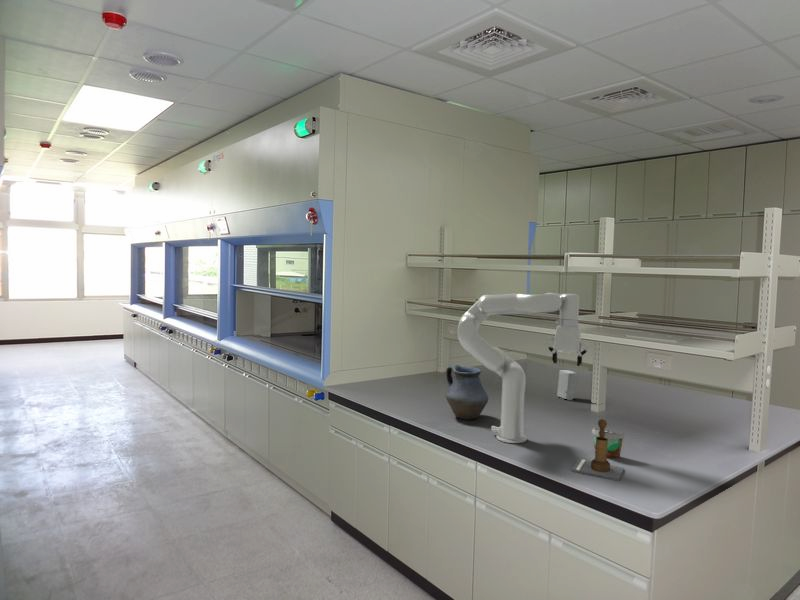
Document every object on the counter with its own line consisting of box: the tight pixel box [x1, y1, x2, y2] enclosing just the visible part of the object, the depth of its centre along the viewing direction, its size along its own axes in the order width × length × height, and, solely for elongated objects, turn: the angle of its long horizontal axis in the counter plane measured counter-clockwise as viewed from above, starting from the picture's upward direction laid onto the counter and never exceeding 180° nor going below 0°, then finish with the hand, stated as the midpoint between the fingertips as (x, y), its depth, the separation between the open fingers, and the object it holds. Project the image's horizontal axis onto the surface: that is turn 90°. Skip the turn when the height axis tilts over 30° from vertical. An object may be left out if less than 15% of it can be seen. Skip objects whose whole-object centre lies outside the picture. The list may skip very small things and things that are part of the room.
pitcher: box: [445, 363, 489, 421], centre depth 262 cm, size 21×22×25 cm
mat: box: [571, 458, 625, 481], centre depth 196 cm, size 16×12×1 cm
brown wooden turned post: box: [591, 418, 611, 472], centre depth 195 cm, size 7×6×18 cm
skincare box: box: [556, 369, 578, 399], centre depth 305 cm, size 8×7×16 cm
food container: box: [591, 427, 626, 459], centre depth 211 cm, size 12×6×10 cm, turn 56°
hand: (566, 364), depth 225 cm, fingers open, 9 cm apart
